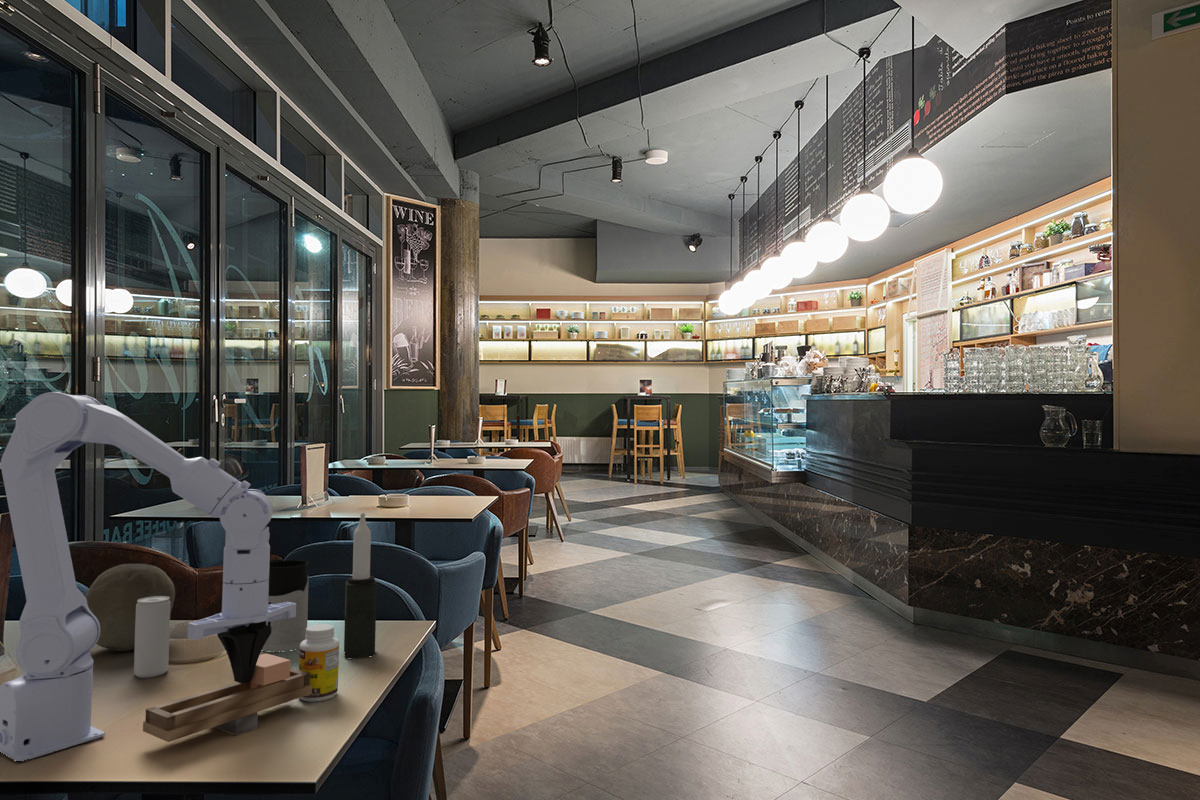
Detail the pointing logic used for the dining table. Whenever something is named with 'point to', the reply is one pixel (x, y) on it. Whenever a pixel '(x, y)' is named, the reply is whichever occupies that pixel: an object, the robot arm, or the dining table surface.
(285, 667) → the rider
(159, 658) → the beverage can
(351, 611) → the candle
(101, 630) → the cantaloupe
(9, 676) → the dining table surface
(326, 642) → the supplement bottle
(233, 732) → the beam
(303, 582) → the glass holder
